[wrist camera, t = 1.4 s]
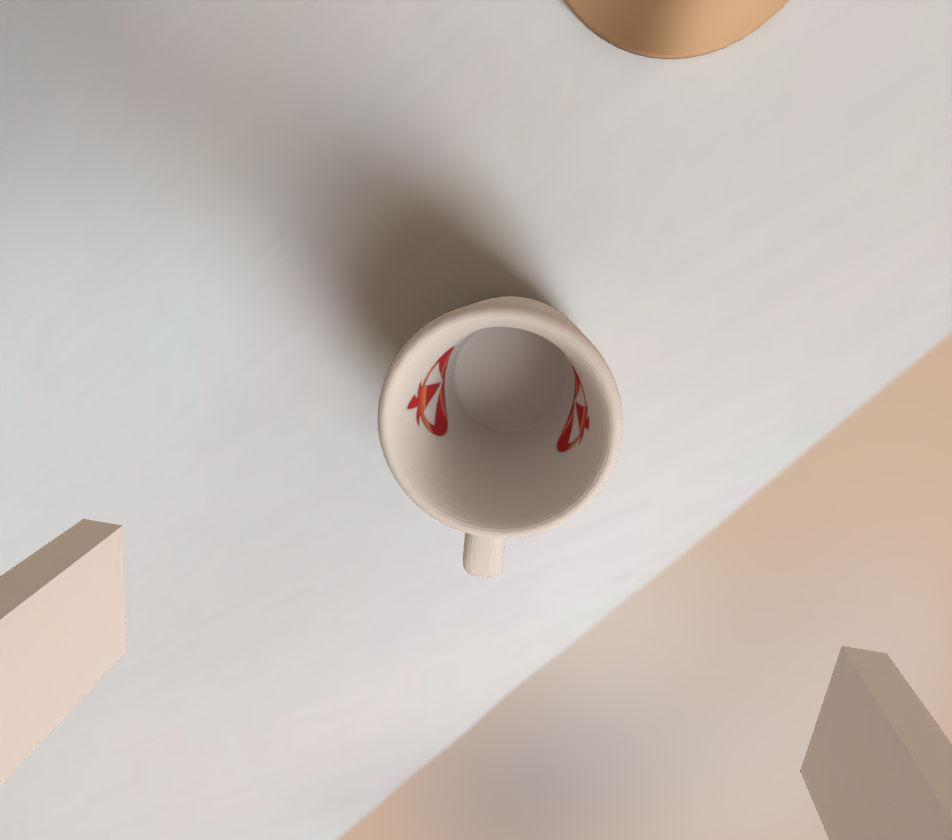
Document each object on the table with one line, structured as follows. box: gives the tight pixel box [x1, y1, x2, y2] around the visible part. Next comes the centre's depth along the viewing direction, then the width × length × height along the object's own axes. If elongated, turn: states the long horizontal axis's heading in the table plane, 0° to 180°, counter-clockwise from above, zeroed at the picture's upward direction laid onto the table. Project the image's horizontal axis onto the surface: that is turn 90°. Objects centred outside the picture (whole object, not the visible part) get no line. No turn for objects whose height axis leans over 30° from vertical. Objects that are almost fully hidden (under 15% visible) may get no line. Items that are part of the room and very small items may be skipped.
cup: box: [378, 296, 623, 578], centre depth 27 cm, size 11×8×8 cm
